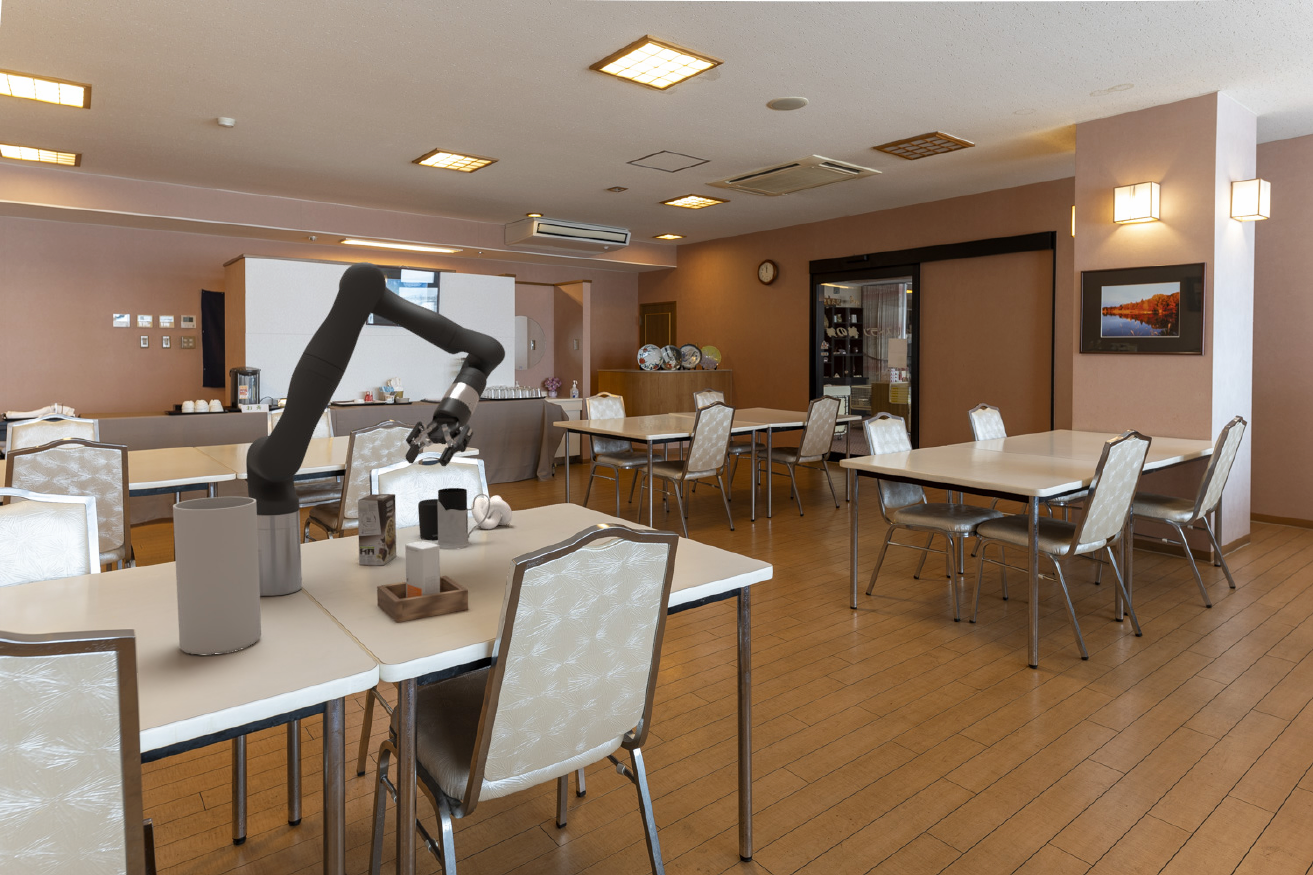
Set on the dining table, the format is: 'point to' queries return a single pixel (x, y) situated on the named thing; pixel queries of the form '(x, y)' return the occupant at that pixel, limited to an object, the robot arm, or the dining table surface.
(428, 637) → the dining table surface
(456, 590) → the tray
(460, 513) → the glass holder
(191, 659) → the dining table surface
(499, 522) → the white knot sculpture
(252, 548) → the cylinder vase
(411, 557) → the skincare box
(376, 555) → the coffee box
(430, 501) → the black smart speaker
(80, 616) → the dining table surface
